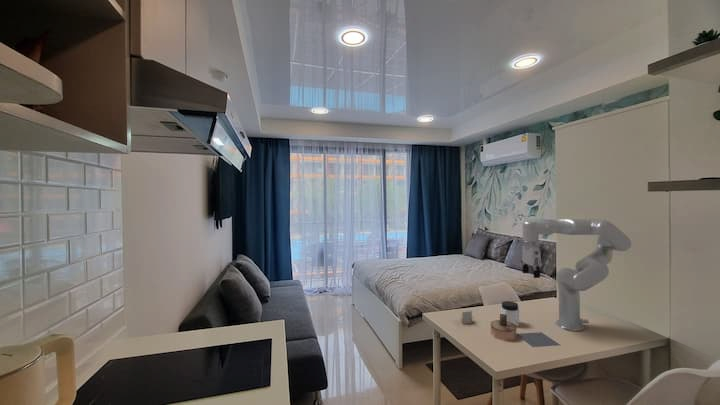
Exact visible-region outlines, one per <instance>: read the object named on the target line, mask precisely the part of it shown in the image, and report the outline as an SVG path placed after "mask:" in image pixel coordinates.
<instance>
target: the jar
mask: <svg viewBox="0 0 720 405" xmlns="http://www.w3.org/2000/svg"><path fill="white" fill-rule="evenodd" d="M500 314H505V315H507V321H508V322H511V323H513V324H515V325H516V327H519V326H520V309H519V304H518V303H517V302H514V301H511V300H509V301H508V300H504V301H502V302H501V307H500Z"/></svg>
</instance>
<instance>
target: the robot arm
mask: <svg viewBox="0 0 720 405" xmlns="http://www.w3.org/2000/svg"><path fill="white" fill-rule="evenodd" d="M553 234H561V235H565V236H566V235H567V236H598V237H597V239H596V248H595V249H594V251H592V252H591V253H589V254H587V255H586V256H584V257H583V258H581V259H580V260H578V261H577V262H576V263H575V266H574V267H575V269H573V268H570V267H563V268H560V269H558V271H557V273H556V282H557V287H558V320H556V321H555V325H556V326H557V327H560V328H562V329H563V330H566V331H571V332H581V331H584V330H585V328H584V325H583V324H589V323H590V322H589V319H587V318H586V319H583V318H582V317H581V294H580V292H585V291H588V290H589V289H591V288H593V287H595V286H597V285H598V284H600V283H601V282H603V281H604V280H605V279H607V277H608V276H609V272H610V268H609V267H608V265H609V264H610V263H611V262H612V260H613V253H614V252H613V251H617V252H627V251H628V250H629V249H631V247H632V240H631V239H630V237H629V236H628V235H627V234H625V233H624V232H623V230H621V229H620V228H619V227H617V226H616V225H615V224H614V223H612V222H611V221H609V220H605V219H597V218H581V219H580V218H576V219H575V218H572V219H571V218H569V219H567V218H564V219H562V218H561V219H535V220H526V221H523V222H522V250H521V251H522V252H521V256H520V262H521V266H522V274H529V273H530V272H529V270H530V268H529V267H530V266H532V267H533V268H532V269H533V278H534V279H539V278H541V270H542V267H543V262H542V258H541V256H542V255H541V248H540V247H539V244H540V243H539V235H544V236H551V235H553Z"/></svg>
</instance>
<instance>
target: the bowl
mask: <svg viewBox="0 0 720 405" xmlns="http://www.w3.org/2000/svg"><path fill="white" fill-rule="evenodd" d="M516 334H517V330H516V331H513V332H503V331H498V330H496V329H494V328H492V327H491V326H490V335H491V336H492V337H493V338H494V339H497V340H501V341H504V342H505V341H507V342H509V341H515V340H516V338H517V335H516Z"/></svg>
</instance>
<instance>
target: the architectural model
mask: <svg viewBox="0 0 720 405" xmlns="http://www.w3.org/2000/svg"><path fill="white" fill-rule="evenodd" d="M461 313H462V314H461V315H460V316H459V317H460V323H461V324H462V325H469V324H471V323H472V324H473V319H474V316H473V312H472V310H470V311H468V310H465V311H461ZM472 324H471V325H472Z"/></svg>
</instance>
